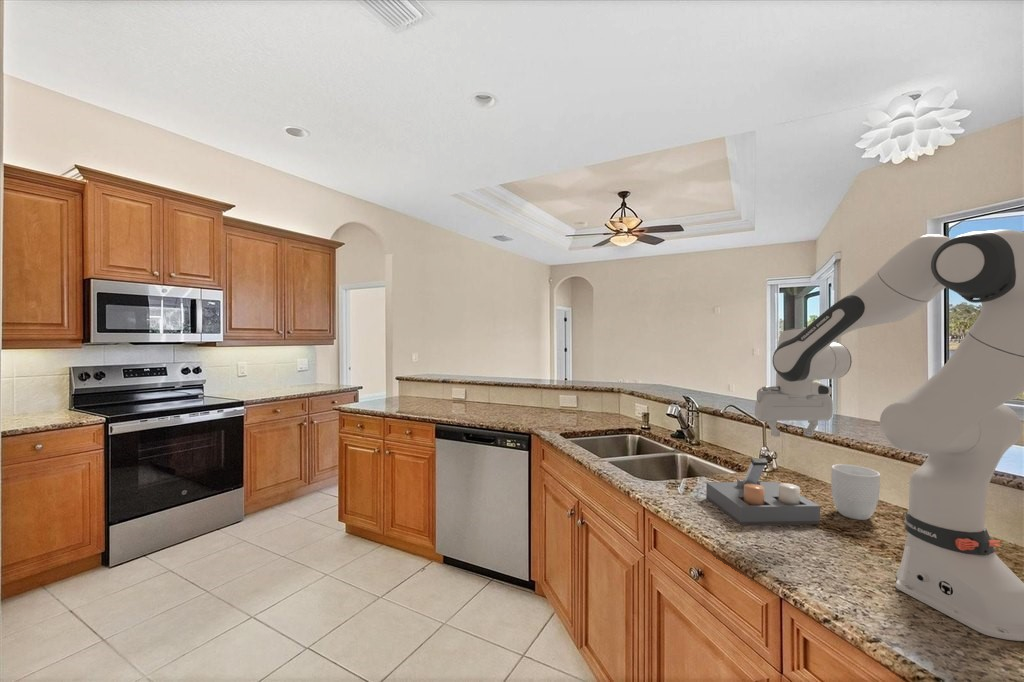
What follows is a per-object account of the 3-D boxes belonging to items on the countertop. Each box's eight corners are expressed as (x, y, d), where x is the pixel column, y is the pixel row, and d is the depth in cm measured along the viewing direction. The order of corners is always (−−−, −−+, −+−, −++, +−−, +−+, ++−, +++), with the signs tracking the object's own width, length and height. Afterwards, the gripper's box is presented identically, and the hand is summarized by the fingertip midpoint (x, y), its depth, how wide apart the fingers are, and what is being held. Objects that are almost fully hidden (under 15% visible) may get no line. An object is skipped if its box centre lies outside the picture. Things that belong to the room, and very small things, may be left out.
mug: (840, 501, 137) (841, 459, 137) (886, 513, 129) (888, 468, 128) (824, 514, 128) (825, 468, 127) (873, 527, 119) (874, 479, 119)
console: (819, 524, 121) (820, 498, 121) (740, 525, 120) (741, 499, 120) (775, 497, 140) (775, 475, 140) (706, 498, 139) (706, 476, 139)
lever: (755, 487, 135) (767, 462, 129) (743, 488, 135) (754, 462, 129) (753, 483, 136) (765, 458, 130) (740, 483, 136) (751, 458, 130)
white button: (803, 507, 122) (804, 489, 122) (786, 507, 122) (786, 489, 122) (791, 500, 127) (791, 483, 127) (774, 500, 127) (774, 483, 127)
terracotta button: (768, 508, 122) (768, 489, 121) (750, 508, 121) (750, 490, 121) (757, 500, 127) (757, 483, 126) (740, 501, 126) (740, 483, 126)
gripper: (764, 388, 120) (762, 439, 120) (838, 388, 121) (835, 439, 121) (750, 384, 126) (748, 433, 127) (821, 384, 127) (818, 433, 128)
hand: (792, 436), depth 124 cm, fingers open, 8 cm apart
